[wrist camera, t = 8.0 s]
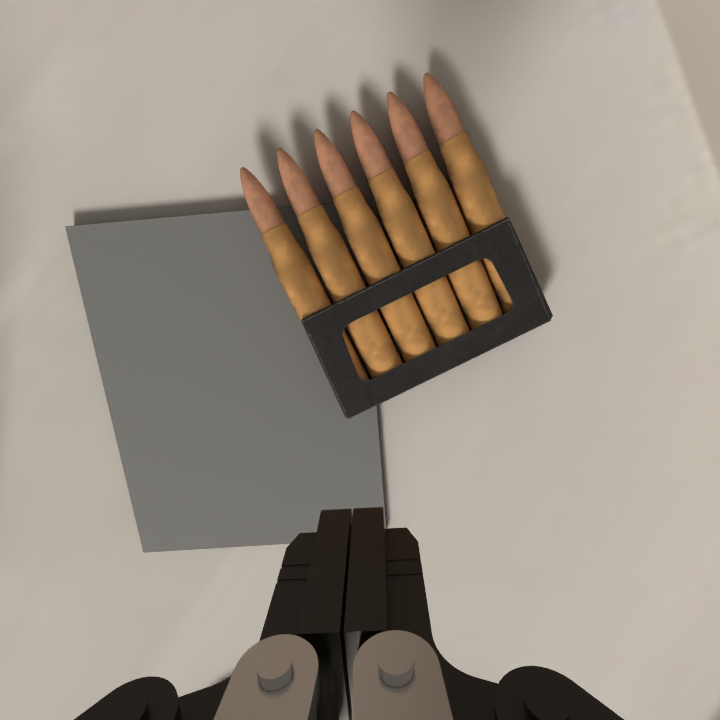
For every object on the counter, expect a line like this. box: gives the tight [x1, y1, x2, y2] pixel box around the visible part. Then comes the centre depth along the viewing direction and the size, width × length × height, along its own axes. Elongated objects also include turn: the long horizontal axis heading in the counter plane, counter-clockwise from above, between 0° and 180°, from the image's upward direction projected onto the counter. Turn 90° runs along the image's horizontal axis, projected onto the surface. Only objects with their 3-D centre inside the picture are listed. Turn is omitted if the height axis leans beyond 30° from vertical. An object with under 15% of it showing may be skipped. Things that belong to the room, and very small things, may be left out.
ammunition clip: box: [240, 73, 553, 419], centre depth 20 cm, size 11×2×12 cm
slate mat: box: [65, 202, 386, 552], centre depth 23 cm, size 14×18×1 cm
